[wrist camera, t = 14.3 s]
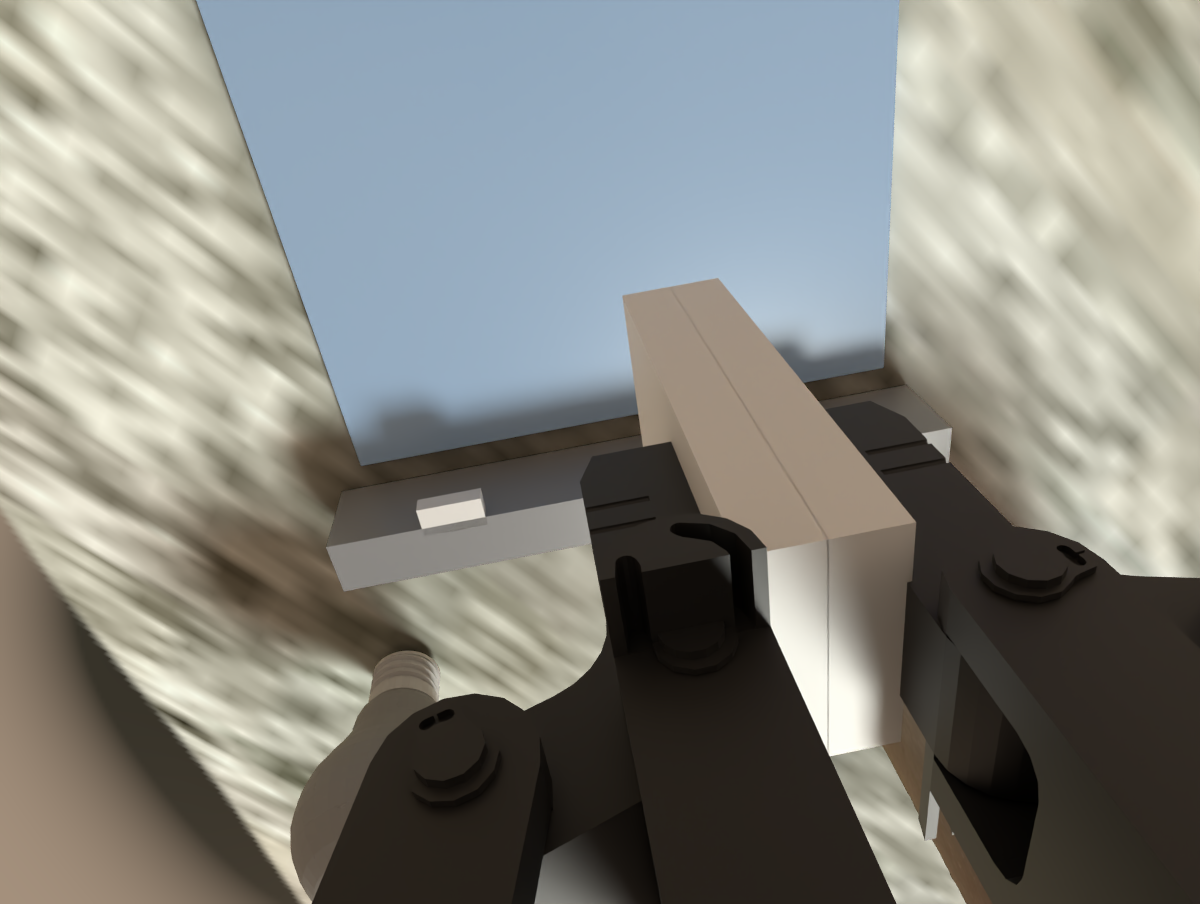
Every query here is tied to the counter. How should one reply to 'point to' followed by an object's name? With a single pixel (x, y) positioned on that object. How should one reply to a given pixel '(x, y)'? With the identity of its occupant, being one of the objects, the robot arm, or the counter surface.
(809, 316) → the blue panel with rails
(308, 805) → the light bulb
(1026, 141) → the counter surface
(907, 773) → the pillar candle
